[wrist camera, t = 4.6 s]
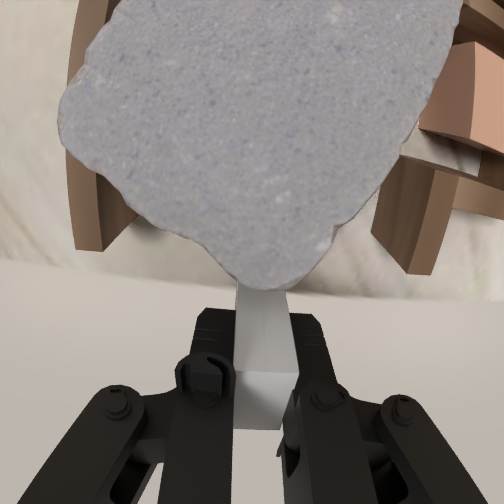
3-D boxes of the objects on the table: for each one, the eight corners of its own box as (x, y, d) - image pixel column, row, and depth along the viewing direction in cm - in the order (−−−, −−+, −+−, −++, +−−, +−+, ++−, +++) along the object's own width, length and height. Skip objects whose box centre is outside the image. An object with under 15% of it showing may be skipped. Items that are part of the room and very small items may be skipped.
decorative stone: (138, 209, 13) (345, 247, 14) (56, 285, 7) (398, 345, 8) (196, -67, 7) (401, -25, 8) (159, -148, 1) (475, -80, 1)
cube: (417, 128, 11) (470, 138, 8) (423, 52, 10) (474, 41, 6) (474, 147, 12) (525, 164, 8) (480, 79, 10) (532, 80, 6)
